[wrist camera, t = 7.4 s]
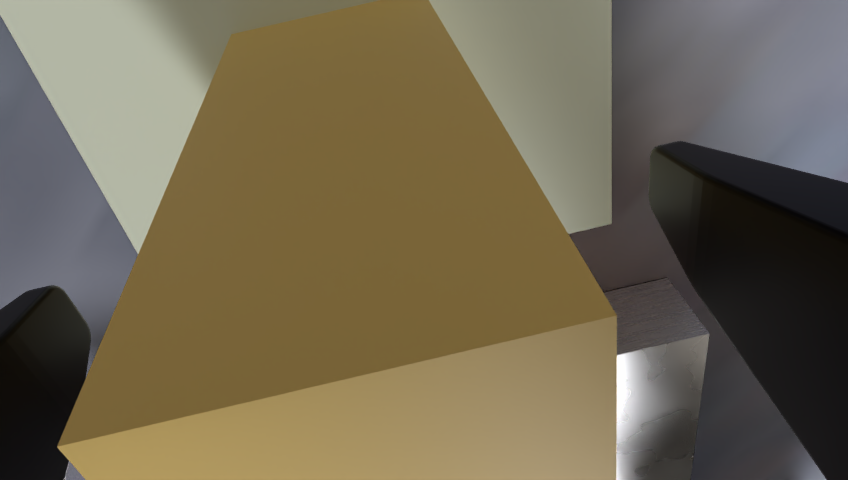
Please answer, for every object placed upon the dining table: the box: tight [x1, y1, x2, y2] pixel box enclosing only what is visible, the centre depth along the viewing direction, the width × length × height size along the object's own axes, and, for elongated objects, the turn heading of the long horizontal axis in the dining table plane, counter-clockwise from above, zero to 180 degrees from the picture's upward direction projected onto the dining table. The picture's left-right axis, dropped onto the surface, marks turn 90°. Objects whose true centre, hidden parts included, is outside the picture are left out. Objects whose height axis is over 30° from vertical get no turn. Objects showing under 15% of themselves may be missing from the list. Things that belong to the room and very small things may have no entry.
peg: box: [57, 0, 617, 480], centre depth 9 cm, size 4×4×10 cm
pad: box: [0, 0, 612, 254], centre depth 14 cm, size 12×10×1 cm
